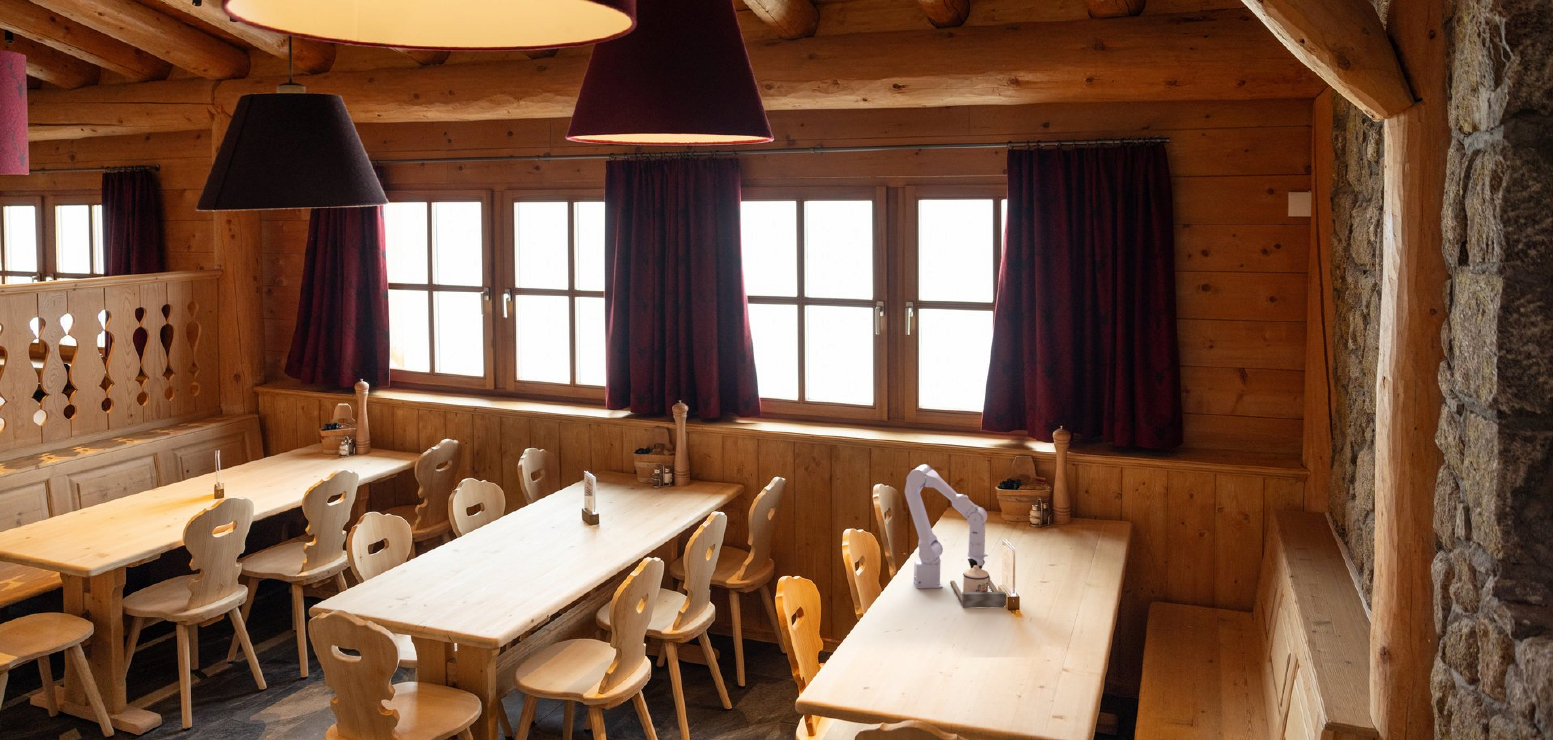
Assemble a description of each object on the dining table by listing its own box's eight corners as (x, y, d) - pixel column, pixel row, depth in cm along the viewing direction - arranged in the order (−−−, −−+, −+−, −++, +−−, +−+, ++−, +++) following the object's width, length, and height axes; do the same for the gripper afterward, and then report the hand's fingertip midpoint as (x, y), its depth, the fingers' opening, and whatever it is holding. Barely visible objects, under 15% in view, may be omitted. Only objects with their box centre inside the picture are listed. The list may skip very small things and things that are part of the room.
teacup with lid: (976, 603, 415) (977, 572, 413) (956, 596, 422) (957, 565, 420) (998, 596, 423) (1000, 564, 421) (979, 589, 429) (980, 558, 427)
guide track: (963, 607, 411) (963, 594, 410) (950, 584, 435) (950, 571, 434) (1006, 607, 411) (1006, 593, 411) (990, 584, 435) (991, 571, 434)
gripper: (992, 548, 417) (991, 585, 419) (983, 535, 431) (982, 571, 434) (972, 548, 417) (971, 585, 419) (964, 536, 431) (963, 572, 433)
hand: (975, 578), depth 426 cm, fingers closed
